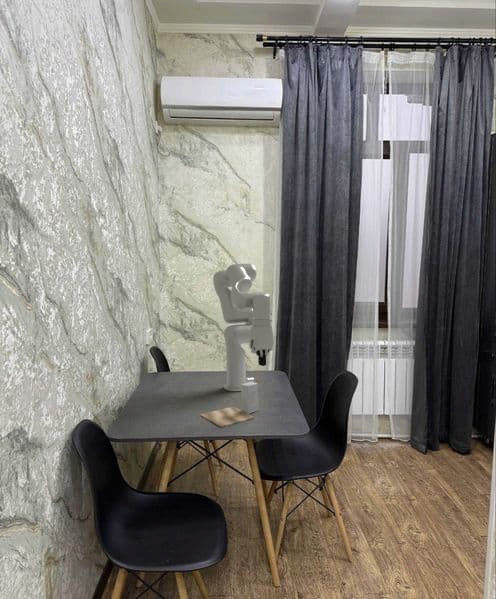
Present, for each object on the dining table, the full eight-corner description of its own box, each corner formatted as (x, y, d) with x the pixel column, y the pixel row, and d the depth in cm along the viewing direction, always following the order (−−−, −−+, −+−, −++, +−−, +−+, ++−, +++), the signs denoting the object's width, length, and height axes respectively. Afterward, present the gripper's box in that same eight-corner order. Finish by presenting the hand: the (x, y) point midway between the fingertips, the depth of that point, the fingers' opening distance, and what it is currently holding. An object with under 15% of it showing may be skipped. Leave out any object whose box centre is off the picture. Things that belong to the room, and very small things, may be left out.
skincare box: (251, 408, 194) (251, 381, 193) (258, 410, 191) (258, 383, 190) (241, 411, 190) (240, 384, 189) (248, 414, 187) (247, 386, 186)
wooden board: (233, 407, 195) (233, 406, 195) (254, 418, 182) (254, 417, 182) (200, 415, 186) (200, 414, 186) (220, 427, 173) (220, 426, 173)
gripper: (270, 320, 198) (270, 361, 200) (242, 323, 189) (243, 366, 191) (280, 322, 192) (281, 364, 193) (252, 325, 183) (253, 369, 185)
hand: (262, 365), depth 192 cm, fingers closed
